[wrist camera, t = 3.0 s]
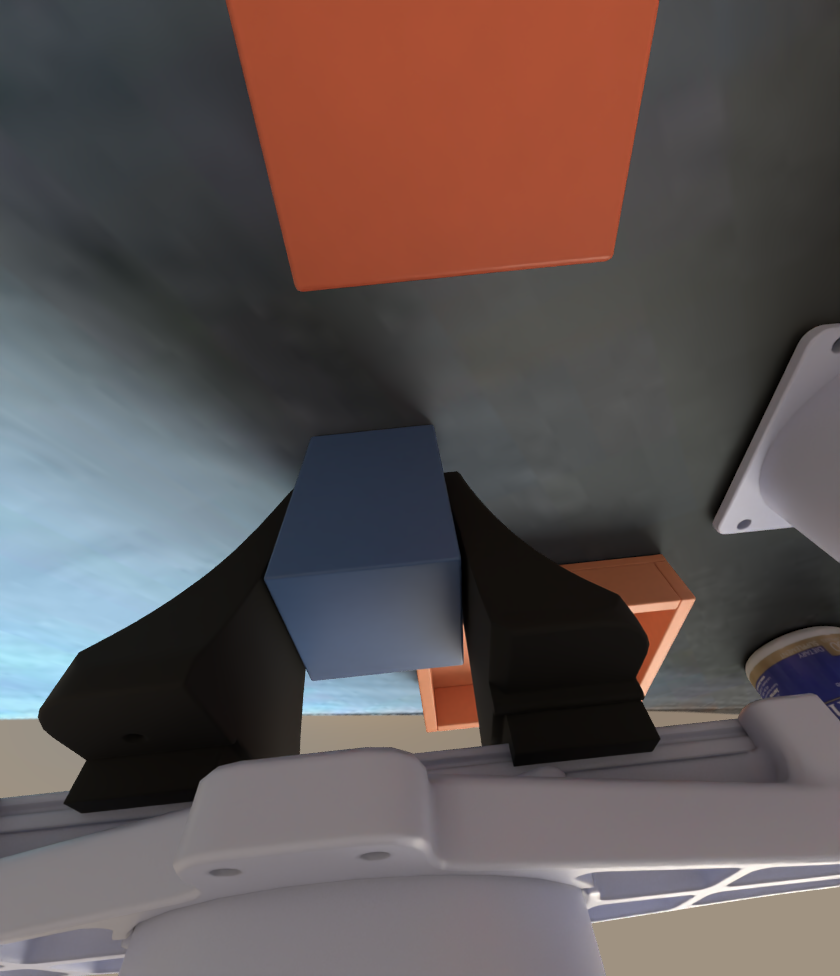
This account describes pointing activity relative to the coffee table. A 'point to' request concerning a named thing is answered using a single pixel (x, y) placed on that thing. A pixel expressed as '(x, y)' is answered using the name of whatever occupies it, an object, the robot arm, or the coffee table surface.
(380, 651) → the blue block
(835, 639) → the pill bottle
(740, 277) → the coffee table surface
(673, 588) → the terracotta tray
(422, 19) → the terracotta block
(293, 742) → the robot arm
